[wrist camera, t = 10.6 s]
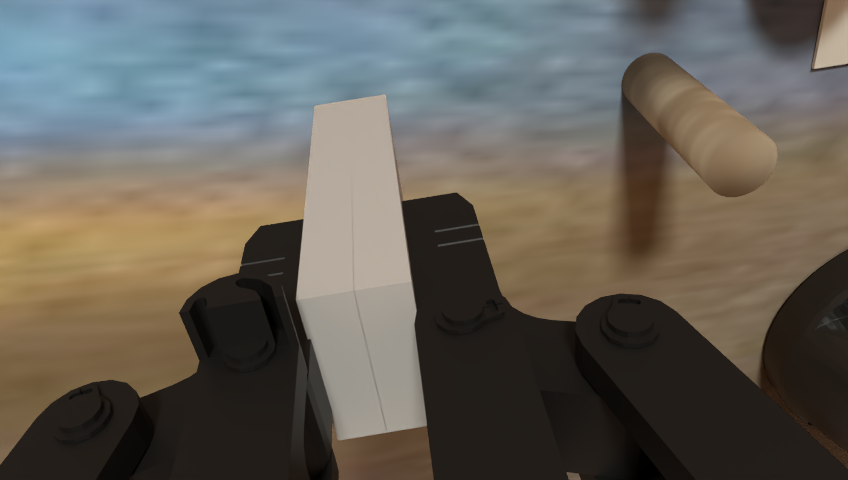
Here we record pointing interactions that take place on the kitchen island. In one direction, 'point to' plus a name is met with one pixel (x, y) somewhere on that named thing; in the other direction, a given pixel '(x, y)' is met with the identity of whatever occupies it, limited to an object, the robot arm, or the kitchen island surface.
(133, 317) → the kitchen island surface
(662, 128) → the post
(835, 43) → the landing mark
